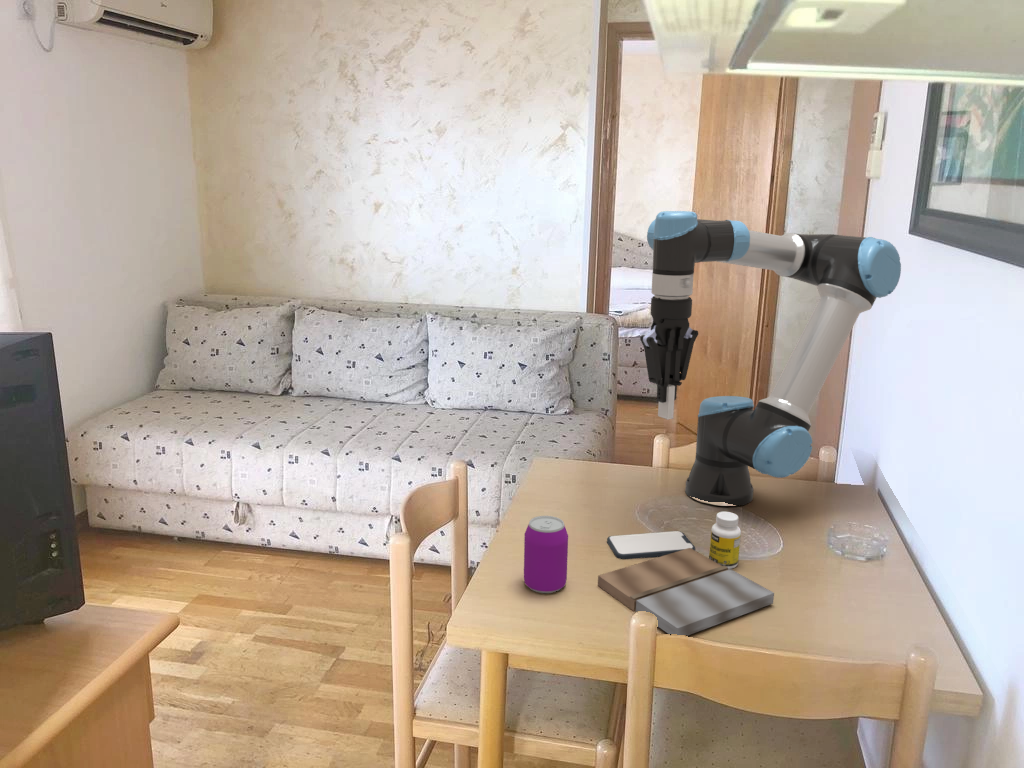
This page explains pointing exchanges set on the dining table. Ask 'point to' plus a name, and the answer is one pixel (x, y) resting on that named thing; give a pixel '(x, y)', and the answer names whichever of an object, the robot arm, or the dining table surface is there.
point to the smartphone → (648, 544)
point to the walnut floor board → (657, 575)
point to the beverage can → (545, 554)
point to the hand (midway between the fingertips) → (665, 417)
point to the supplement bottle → (725, 540)
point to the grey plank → (705, 602)
